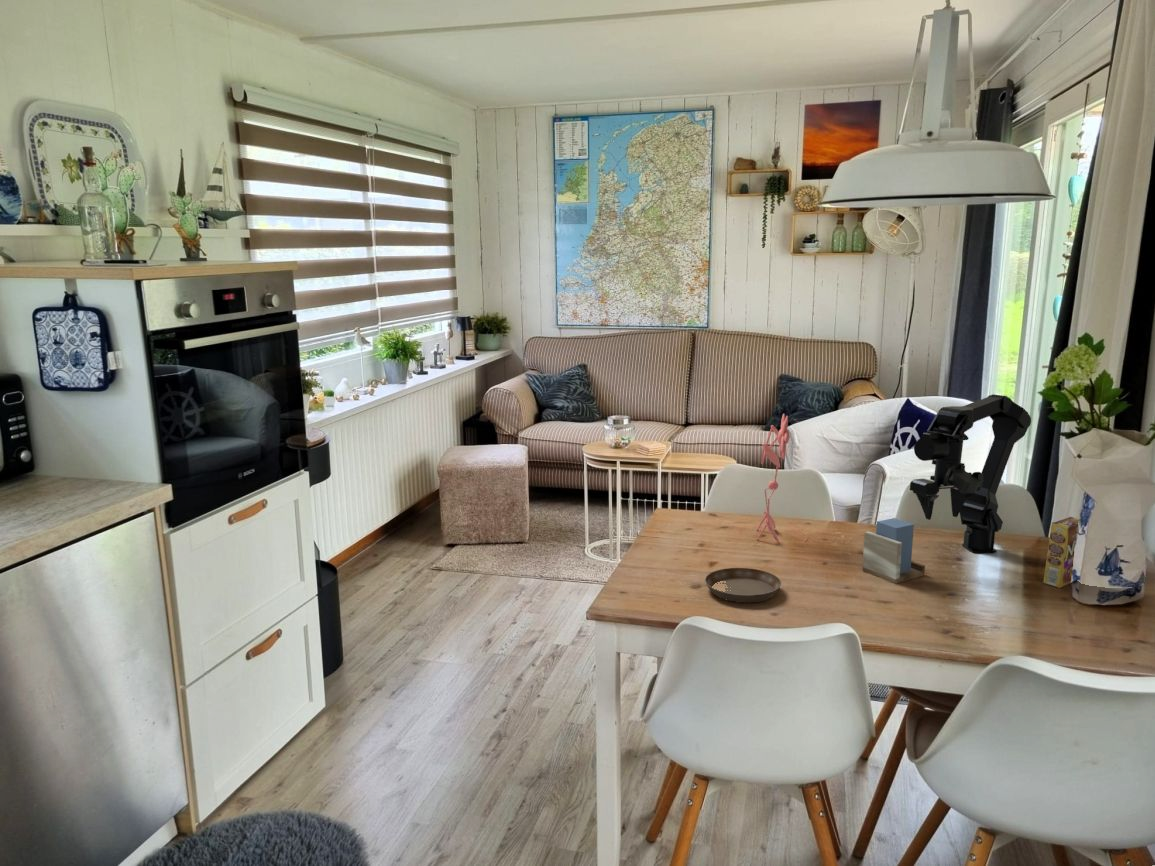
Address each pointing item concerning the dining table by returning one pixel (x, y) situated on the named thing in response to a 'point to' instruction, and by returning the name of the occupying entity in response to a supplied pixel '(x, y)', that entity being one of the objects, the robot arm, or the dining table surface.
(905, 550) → the blue-grey rectangular block
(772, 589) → the plant saucer
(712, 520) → the dining table surface
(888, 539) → the wooden stand
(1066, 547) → the candy box
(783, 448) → the figurine
